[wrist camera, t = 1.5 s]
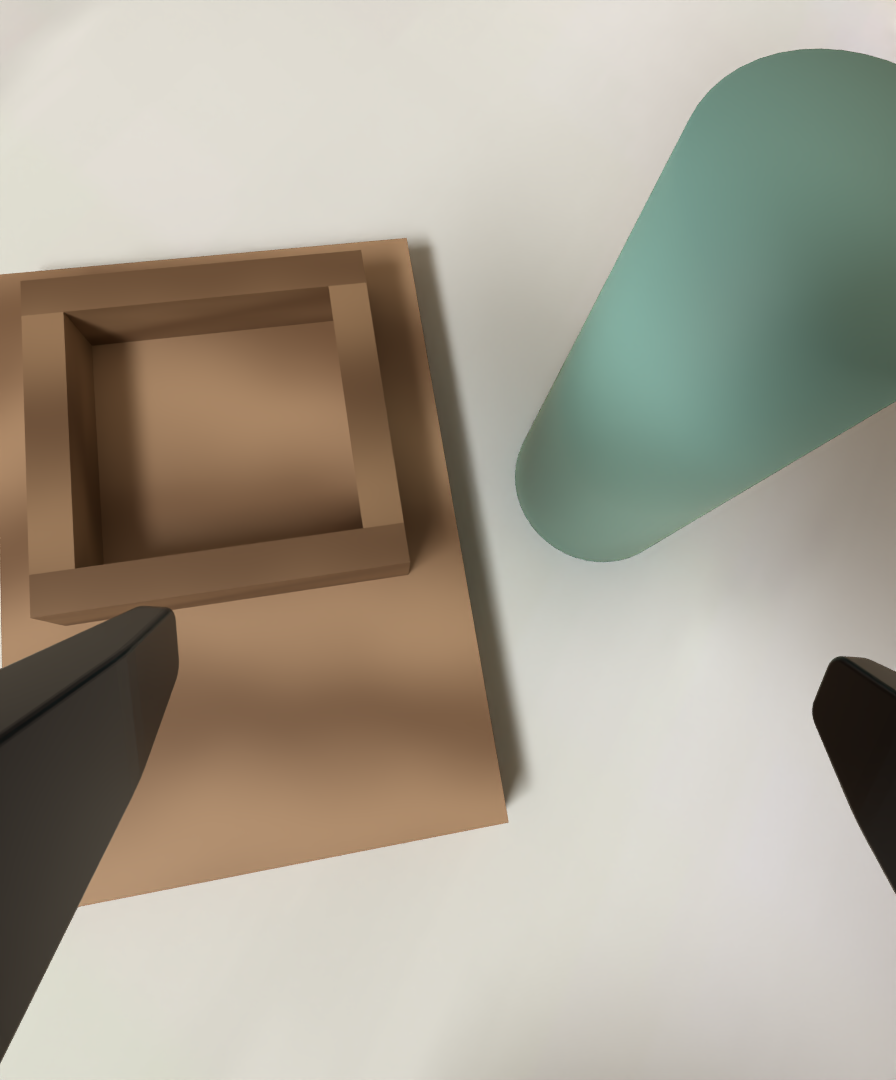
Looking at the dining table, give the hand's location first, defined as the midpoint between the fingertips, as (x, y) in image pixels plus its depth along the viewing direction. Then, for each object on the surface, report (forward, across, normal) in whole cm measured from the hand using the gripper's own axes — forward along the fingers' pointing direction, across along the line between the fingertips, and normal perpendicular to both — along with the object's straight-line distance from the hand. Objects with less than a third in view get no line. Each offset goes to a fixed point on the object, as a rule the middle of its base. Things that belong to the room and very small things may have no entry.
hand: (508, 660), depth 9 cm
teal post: (+15, -5, +2) cm, 16 cm away
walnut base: (+13, +7, +5) cm, 16 cm away
